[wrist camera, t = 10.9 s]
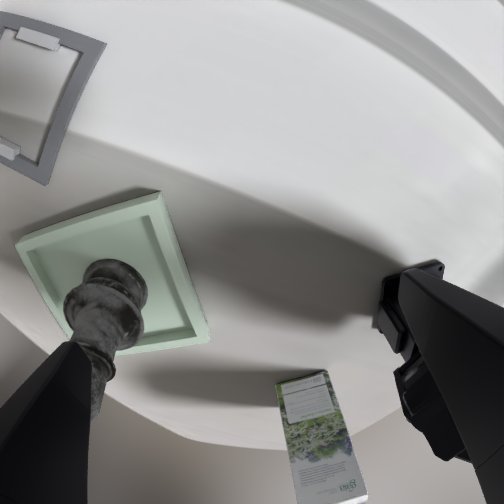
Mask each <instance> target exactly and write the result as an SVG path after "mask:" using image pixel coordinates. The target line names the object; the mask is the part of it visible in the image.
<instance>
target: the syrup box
mask: <svg viewBox="0 0 504 504" xmlns="http://www.w3.org/2000/svg"><path fill="white" fill-rule="evenodd" d="M275 387H276V393H277V398H278V403H279V409H280V414H281V419H282V424H283V429H284V435H285V440H286V445H287V451H288V456H289V460H290V466H291V471H292V477H293V481H294V487H295V493H296V498H297V503H298V504H365V503H366V501H367V498H368V494H367V493H368V491H367V487H366V484H365V481H364V478H363V475H362V472H361V469H360V466H359V463H358V459H357V456H356V453H355V451H354V447H353V444H352V441H351V438H350V435H349V432H348V429H347V426H346V423H345V420H344V417H343V414H342V411H341V408H340V405H339V402H338V399H337V396H336V393H335V391H334V388H333V385H332V382H331V379H330V376H329V373H328V371H323V372H320V373H317V374H313V375H310V376H306V377H302V378H299V379H295V380H291V381H287V382H284V383H280V384H276V385H275Z"/></svg>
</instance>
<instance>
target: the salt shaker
mask: <svg viewBox="0 0 504 504" xmlns="http://www.w3.org/2000/svg"><path fill="white" fill-rule="evenodd" d="M147 298H148V288H147V285H146V282H145V280H144V279H143V277H142V276H141V274H140V273H139V272H138V271H137V270H136V269H134V268H133V267H132V266H130V265H129V264H127V263H125V262H122V261H119V260H116V259H101V260H97V261H95V262H93V263H91V264H90V265H89V266H88V267H87V268H86V270H85V272H84V275H83V280H82V284H80V285H79V286H77V287H75V288H73V289H72V290H71V291H70V292H69V293H68V294H67V295H66V297H65V300H64V302H63V313H64V316H65V320H66V321H67V323H68V325H69V327H70V328H71V329H72V331H73V334H72V337H71V339H70V341H76V342H78V343H79V345H80V346H81V347H82V349H83V350H84V352H85V353H86V354H87V356H88V357H89V358H90V360H91V363H92V387H91V420H93V419H95V418H96V417H97V416H98V414H99V412H100V408H101V403H102V399H103V395H104V390H105V386H106V382H108V381H110V380H112V379H113V377H114V376H115V372H116V368H115V365H114V363H113V360H114V356H115V353H116V351H121V350H125V349H129V348H131V347H133V346H134V345H136V344H137V343H138V342H139V341H140V340H141V338H142V336H143V332H144V320H143V318H142V315H141V310H142V309H143V307H144V306H145V304H146V302H147Z"/></svg>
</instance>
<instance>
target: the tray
mask: <svg viewBox="0 0 504 504" xmlns="http://www.w3.org/2000/svg"><path fill="white" fill-rule="evenodd" d="M15 247H16V249H17V251H18V253H19V255H20V257H21V259H22V261H23V263H24V265H25V267H26V269H27V271H28V273H29V274H30V276H31V278H32V280H33V282H34V283H35V285H36V287H37V289H38V290H39V292H40V294H41V295H42V297H43V299H44V300H45V302H46V304H47V305H48V307H49V309H50V310H51V312H52V313H53V315H54V316H55V318H56V320H57V321H58V323H59V324H60V326H61V327H62V329H63V330H64V332H65V333H66V334H67V336H68V337H69V339H71V337H72V334H73V331H72V329H71V328H70V327H69V325H68V323H67V321H66V320H65V316H64V313H63V302H64V300H65V297H66V295H67V294H68V293H69V292H70V291H71V290H72V289H73V288H75V287H77V286H79V285H80V284H82V280H83V275H84V272H85V270H86V268H87V267H88V266H89V265H90V264H91V263H93V262H95V261H97V260H101V259H116V260H119V261H122V262H125V263H127V264H129V265H130V266H132V267H133V268H134V269H136V270H137V271H138V272H139V273H140V274H141V276H142V277H143V279H144V280H145V282H146V285H147V288H148V298H147V302H146V304H145V306H144V307H143V309H142V310H141V315H142V318H143V320H144V332H143V336H142V338H141V340H140V341H139V342H138V343H137V344H136V345H134V346H133V347H131V348H129V349H125V350H121V351H116V353H115V356H118V355H126V354H134V353H142V352H149V351H156V350H163V349H169V348H176V347H182V346H188V345H194V344H200V343H206V342H210V328H209V325H208V323H207V320H206V318H205V315H204V313H203V310H202V307H201V305H200V302H199V299H198V297H197V294H196V291H195V289H194V286H193V283H192V280H191V278H190V275H189V272H188V269H187V267H186V264H185V261H184V258H183V255H182V252H181V249H180V246H179V244H178V241H177V238H176V235H175V232H174V229H173V226H172V223H171V220H170V217H169V214H168V210H167V207H166V204H165V201H164V198H163V195H162V191H160V192H156V193H153V194H149V195H145V196H142V197H138V198H135V199H131V200H128V201H125V202H121V203H118V204H115V205H111V206H108V207H105V208H102V209H99V210H95V211H92V212H89V213H86V214H83V215H80V216H77V217H74V218H71V219H68V220H65V221H62V222H59V223H56V224H54V225H51V226H48V227H45V228H43V229H40V230H37V231H34V232H32V233H29V234H26V235H24V236H23V237H22V238H21V239H20V240H19V241H18V242H17V243H16V244H15Z"/></svg>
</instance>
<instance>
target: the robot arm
mask: <svg viewBox="0 0 504 504" xmlns="http://www.w3.org/2000/svg"><path fill="white" fill-rule="evenodd" d="M444 268H445V266H444V264H443V263H442V262H437V263H434V264H430V265H427V266H424V267H420V268H413V269H409V270H406V271H403V272H402V273H400V274H396V275H393V276H389V277H386V278H385V279H384V280H383V283H382V294H381V301H380V303H379V310H378V320H377V323H378V330H379V332H380V333H381V334H384V335H385V337H386V339H387V341H388V342H389V344H390V346H391V348H392V350H393V351H394V352H395V353H396V354H398V353H401V355H402V357H403V359H404V360H405V363H404V364H403V365H402V366H401V367H400V368H399V367H398V368H397V369H396V370H395V371H394V372H393V373H394V376H395V382H396V385H397V389H398V393H399V397H400V401H401V405H402V409H403V413H404V415H405V417H406V419H407V421H408V422H409V423H411V424H412V425H413V426H414V427H415V428H416V429H418V430H419V431H420V432H423V434H424V435H425V437H426V439H427V440H428V442H429V444H430V446H431V448H432V450H433V452H434V454H435V455H436V456H437V457H439V458H441V459H442V460H444V461H449V460H450V459H452V458H453V457H455V458H458V459H461V460H464V461H466V462H469V463H472V464H473V467H474V469H475V472H476V475H477V477H478V480H479V483H480V486H481V489H482V492H483V494H484V497H485V500H486V503H487V504H504V308H503V307H501V306H499V305H497V304H495V303H493V302H490V301H488V300H486V299H484V298H482V297H480V296H478V295H475V294H473V293H471V292H469V291H467V290H464V289H462V288H460V287H458V286H456V285H453V284H451V283H449V282H447V281H444V280H442V279H443V274H444ZM91 387H92V363H91V360H90V358H89V357H88V356H87V354H86V353H85V352H84V350H83V349H82V347H81V346H80V345H79V343H78V342H76V341H66V342H63V343H62V344H61V345H60V346H59V347H58V348H57V349H56V350H55V351H54V352H53V353H52V354H51V355H50V356H49V357H48V358H47V359H46V360H45V361H44V362H43V363H42V364H41V365H40V366H39V367H38V368H37V369H36V370H35V371H34V372H33V374H32V375H31V376H30V377H29V378H28V379H27V380H26V381H25V382H24V383H23V384H22V385H21V386H20V387H19V388H18V389H17V390H16V392H15V393H14V394H13V395H12V396H11V397H10V398H9V399H8V400H7V401H6V402H5V404H4V405H3V406H2V407H1V408H0V504H87V503H88V501H87V476H88V472H87V471H88V449H89V433H90V421H91Z"/></svg>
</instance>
